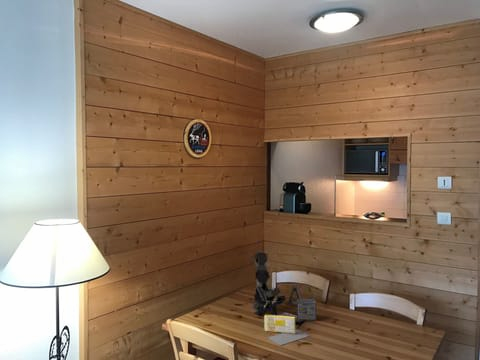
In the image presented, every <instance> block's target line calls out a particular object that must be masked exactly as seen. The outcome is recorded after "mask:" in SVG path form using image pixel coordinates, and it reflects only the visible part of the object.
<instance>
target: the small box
mask: <svg viewBox="0 0 480 360" xmlns="http://www.w3.org/2000/svg"><path fill="white" fill-rule="evenodd" d="M296 301H297V305H296V320H297V321H300V320H302V321H305V322H306V321H307V322H308V321H310V322H317V301H316V299H314V298H313V299H311V298H308V299H307V298H302V299H297V298H296Z"/></svg>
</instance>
